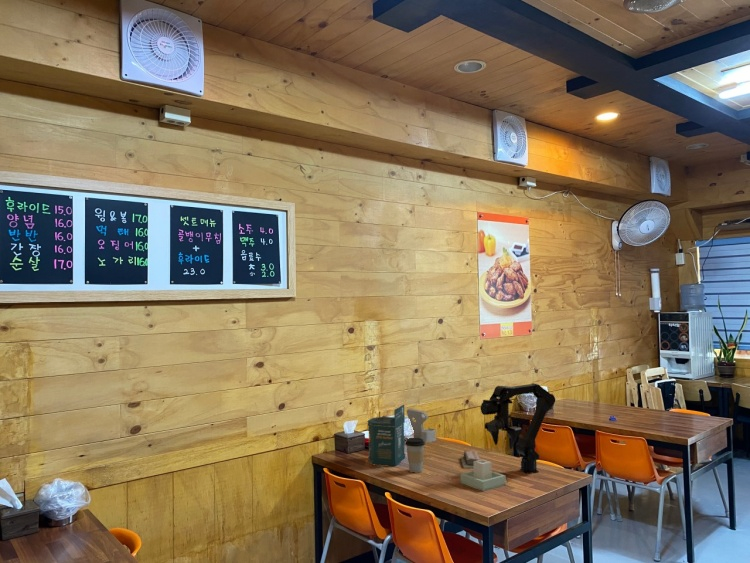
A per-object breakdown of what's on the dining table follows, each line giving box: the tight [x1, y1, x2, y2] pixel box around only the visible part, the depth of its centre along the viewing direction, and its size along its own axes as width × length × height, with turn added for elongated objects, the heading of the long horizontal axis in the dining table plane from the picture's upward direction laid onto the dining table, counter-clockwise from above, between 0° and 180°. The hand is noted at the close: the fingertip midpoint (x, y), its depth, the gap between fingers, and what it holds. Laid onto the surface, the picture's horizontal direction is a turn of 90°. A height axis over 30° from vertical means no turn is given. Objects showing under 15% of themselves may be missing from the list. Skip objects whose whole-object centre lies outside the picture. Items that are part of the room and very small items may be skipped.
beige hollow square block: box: [473, 458, 493, 480], centre depth 252 cm, size 6×6×9 cm
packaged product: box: [460, 450, 481, 469], centre depth 285 cm, size 18×5×10 cm
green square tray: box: [459, 470, 507, 492], centre depth 252 cm, size 14×14×4 cm
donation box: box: [367, 404, 406, 467], centre depth 291 cm, size 16×16×28 cm
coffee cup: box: [404, 438, 426, 474], centre depth 273 cm, size 9×9×15 cm
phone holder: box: [406, 408, 437, 444], centre depth 336 cm, size 17×10×18 cm, turn 39°
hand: (503, 446), depth 266 cm, fingers open, 9 cm apart
